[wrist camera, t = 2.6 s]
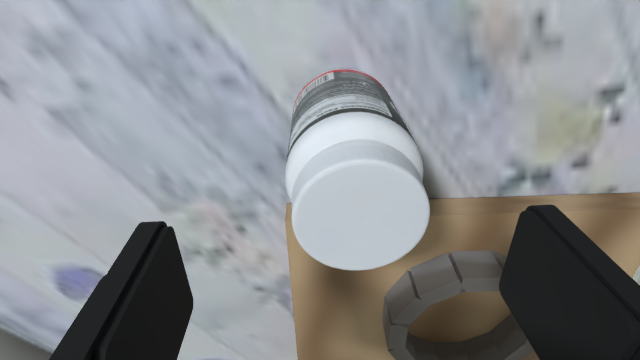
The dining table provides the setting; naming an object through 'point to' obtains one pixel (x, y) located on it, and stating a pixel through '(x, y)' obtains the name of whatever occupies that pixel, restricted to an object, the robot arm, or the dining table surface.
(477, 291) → the ring jig
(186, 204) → the dining table surface
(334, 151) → the pill bottle
